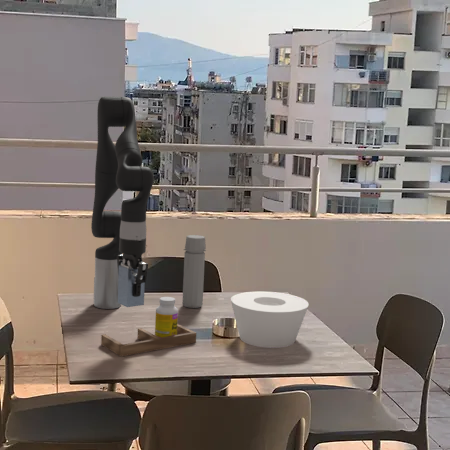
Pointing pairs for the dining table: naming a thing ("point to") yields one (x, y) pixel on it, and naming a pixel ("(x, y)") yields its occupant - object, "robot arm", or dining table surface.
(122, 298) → the slate tin
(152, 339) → the caddy
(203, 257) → the water bottle
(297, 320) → the white tapered pot
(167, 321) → the supplement bottle
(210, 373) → the dining table surface
